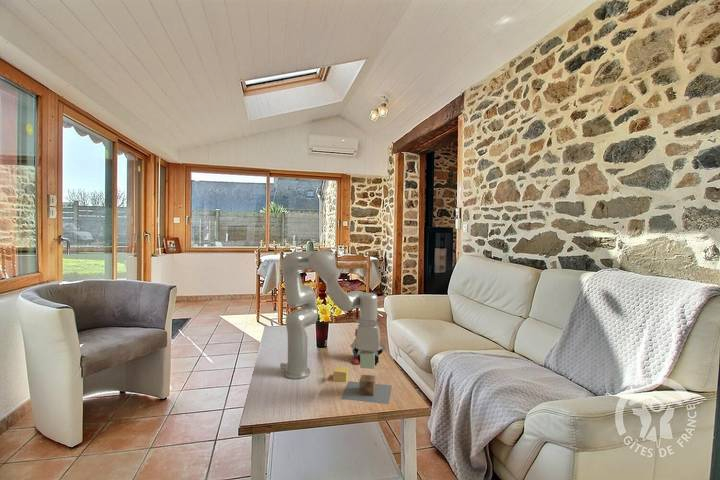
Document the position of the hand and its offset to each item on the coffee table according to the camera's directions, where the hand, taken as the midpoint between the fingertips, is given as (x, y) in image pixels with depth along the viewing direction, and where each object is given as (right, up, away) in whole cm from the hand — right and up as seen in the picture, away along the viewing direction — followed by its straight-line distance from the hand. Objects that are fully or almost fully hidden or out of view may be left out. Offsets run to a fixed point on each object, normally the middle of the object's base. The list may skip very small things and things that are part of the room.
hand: (368, 363), depth 145 cm
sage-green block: (0, -1, 0) cm, 1 cm away
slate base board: (0, -14, +1) cm, 14 cm away
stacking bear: (-3, -13, +38) cm, 40 cm away
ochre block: (-12, -13, +13) cm, 22 cm away
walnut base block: (0, -12, +1) cm, 12 cm away
